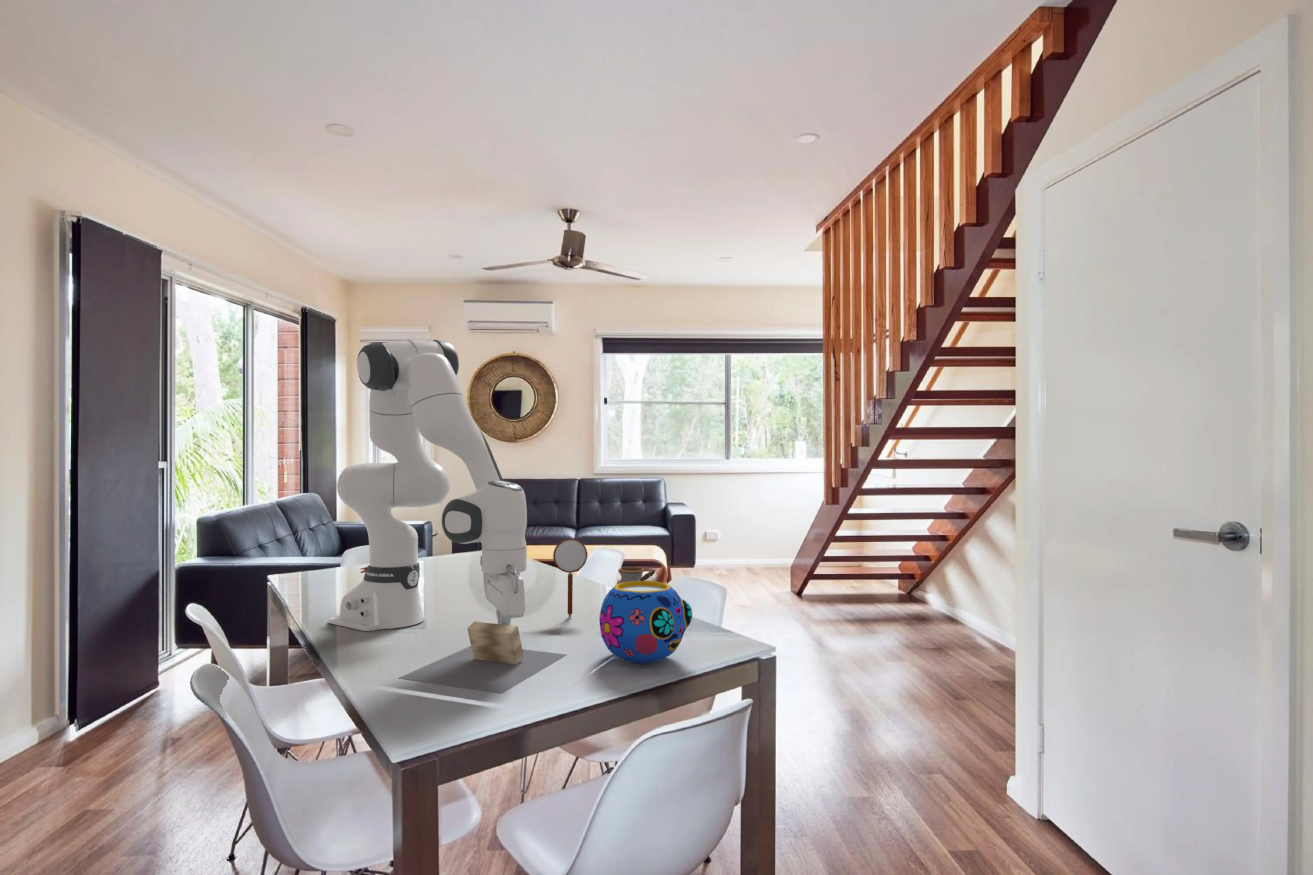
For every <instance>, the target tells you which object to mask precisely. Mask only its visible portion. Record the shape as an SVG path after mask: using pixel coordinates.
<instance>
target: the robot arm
mask: <svg viewBox="0 0 1313 875" xmlns="http://www.w3.org/2000/svg"><path fill="white" fill-rule="evenodd" d="M356 361H357V362H356V368H357V370H356V371H357V373H358V374H357V375H358V378H359V380H360V382H361V383H362V384H363V385H364V386H365V387H366V388H367V389H369V401H368V405H369V406H368V409H369V410H368V412H369V413H368V414H369V417H368V418H369V420H368V421H369V438H370V440H371V441H370V442H372V444H373V445H374V446H375V447H376V448H378V449H379V450H381V451H383V452H386V453H388V454H390V455H392V456H393V457H394V458H395V460H396V462H365V463H364V462H363V463H360V464H353V465H348V466H346V467H345V468H344V469H343V470H342V471H341V473H340V475H339V476H338V478H337V483H336V484H337V485H336V490H337V493H338V497H339V498H340V500H341V501H342V502H343V503H344V505H346V506H347V507H348V508H350V509H352V510H353V511H354V512H355V513H356V514H357V515H358V516H359V517H360V519H361V520H362V522H363V524H364V526H365V528H366V531H367V535H368V548H369V564H368V565H367V566H366V567H361V568H360V572H359V573H360V574H363V573H364V575H363V578H362V581H361V582H359V583H358V584H357V585H356V586H355V587H353V588H352V589H350V591H348V592H347V593H346V594H345V595H343V597H342V599H341V602H340V608H339V613H338V614H336V615H333V616H332V617H330V618H329V619H328V623H329V624H331V625H336V626H341V627H344V628H345V627H346V628H349V629H354V630H358V631H363V632H369V631H370V632H372V631H378V630H389V629H390V630H391V629H399V628H405V627H409V626H410V627H411V626H413V625H417V624H420V623H422V622H424V620H425V617H424V613H423V610H422V604H421V599H420V593H419V592H420V591H419V580H420V569H421V568H420V562H419V557H418V555H419V549H418V548H419V535H418V532H417V530H416V529H415V528H414V527H413V526H412V525H410V524H408V523H407V522H405V521H402V520H401V519H400V520H399V519H398V518H396V517H395V516H394V515H393V514H392V510H393V509H395V508H424V507H428V506H429V507H431V506H433V505H438V504H442V502H444V500H445V499H447V496H448V494H449V491H450V487H451V484H450V483H451V481H450V477H449V475H448V473H447V471H446V470H445V468H444V467H443V466H442V465H440V464H439V463H437V462H436V461H434V460H433V458H431V456H430V455H429V454H428V453H427V452H426V450H425V447H424V446H423V443H422V438H424V439H425V441H426V440H427V441H428V442H430V443H431V444H433V445H435V446H438V447H440V448H443V449H445V450H447V451H448V452H451V453H452V454H454V455H455V456H457V457H458V458H459V459H461V461H463V462H464V464H465V466H466V467H467V470H468V472H469V475H470V476H471V479H472V481H473V482H472V483H473V485H474V488H475V489H476V490H475V491H474V492H472V493H469V494H467V495H463V496H460V497H457V498H454V499H452V500H450V501H449V502H448V503H447V504H446V505H445V507H444V508H443V510H442V512H441V513H442V515H441V528H442V530H443V531H442V532H444V535H445V536H446V537H447V538H448V540H450V541H451V542H452V543H455V544H462V545H466V544H472V543H481V556H480V558H479V560H480V567H481V572H482V574H483V576H482V577H483V589H484V590H483V591H484V595H485V596H484V597H485V599H486V600H487V601H488V602H489V603H490V604H491V605H492V606H493V607H495V614H496V619H497V624H502V625H511V622H512V619H517V618H523V617H524V615H525V610H526V602H525V600H526V598H525V584H524V579H523V577H522V576H521V573H523V572H525V571H526V570H527V556H528V555H527V551H528V550H527V546H528V545H527V541H526V537H525V535H526V534H525V533H526V529H527V526H528V517H527V516H528V514H527V513H528V509H527V500H526V493H525V490H524V489H523V487H522V486H521V485H520V484H518V483H515V482H511V481H506V480H504V479H503V477H502V474H501V472H500V470H499V467H498V464H497V462H496V459H495V457H494V454H493V452H492V450H491V447H490V445H489V443H488V441H487V439H486V437H485V435H484V434H483V431H481V429H480V428H479V427H478V424H476V422H475V420H474V419H473V417H472V415H471V412H470V411H469V408H468V405H467V403H466V400H465V398H464V394H463V391H462V387H461V384H460V381H459V380H458V376H457V375H458V372H459V368H460V361H459V356H458V352H457V350H456V349H455V347H454V346H453V345H452V344H451V343H449V342H447V341H444V340H438V339H433V340H425V339H405V340H395V341H387V342H380V341H378V342H372V343H369V344H366V345H363V346H362V348H361V349H360V351H359V353H358V354H357V359H356ZM421 436H422V438H421ZM361 570H362V571H361Z"/></svg>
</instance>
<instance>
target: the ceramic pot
mask: <svg viewBox="0 0 1313 875" xmlns="http://www.w3.org/2000/svg"><path fill="white" fill-rule="evenodd" d="M602 601H603V602H602V603H601V607H600V612H599V620H598V621H599V628H600V629H599V630H600V635H601V638H602V640H603V643H604V645H605V646H606V648H607V650H608V651H609V652H610V653H611V654H613V656H615V657H617V658H619V659H621V660H622V661H626V662H628V663H633V664H640V665H644V664H652V663H656V662H658V661H662V660H664V659H666V658H668V657H669V656H671V655H672V654H674V653H675V652H676V650H678V649H677V648H678V647H679V646H680V644H681V642H682V639H683V636H684V634H685V632H686V629H687V628H688V627H689V626H690V625H691V622H692V620H693V610H692V607H691V605H690V603H688V602H687V601H686V600H684V599H682V597H681V596H680V595H679V594H678V592H677V591H676V590H675V589H674V588H673V587H672V586H671V585H669V584H667V583H665V582H660V581H653V580H652V581H651V580H644V581H631V582H624V583H617V584H615V585H614V586H613V587H612V588H611V589H609V591H608V592H607V593H606V595H605V597H604V599H603V600H602Z"/></svg>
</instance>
